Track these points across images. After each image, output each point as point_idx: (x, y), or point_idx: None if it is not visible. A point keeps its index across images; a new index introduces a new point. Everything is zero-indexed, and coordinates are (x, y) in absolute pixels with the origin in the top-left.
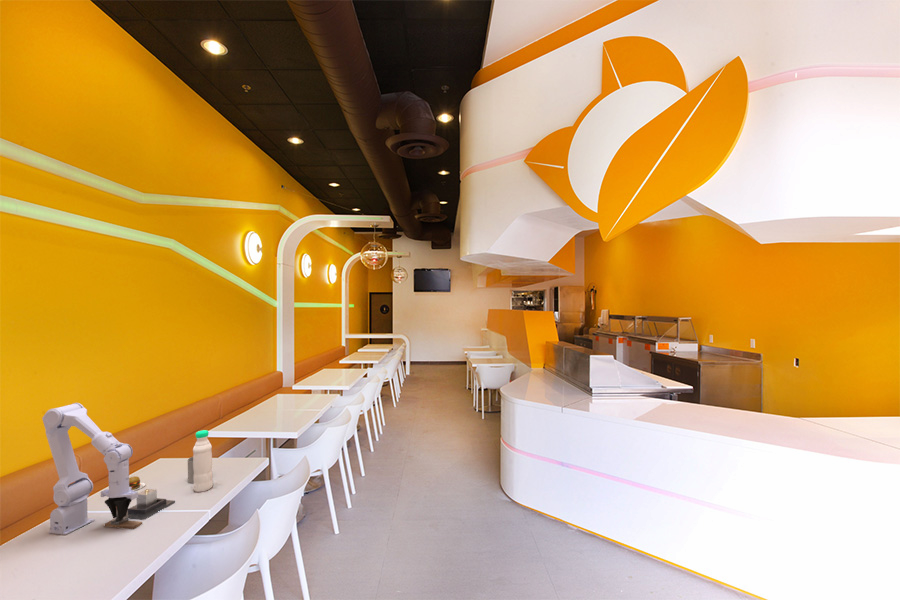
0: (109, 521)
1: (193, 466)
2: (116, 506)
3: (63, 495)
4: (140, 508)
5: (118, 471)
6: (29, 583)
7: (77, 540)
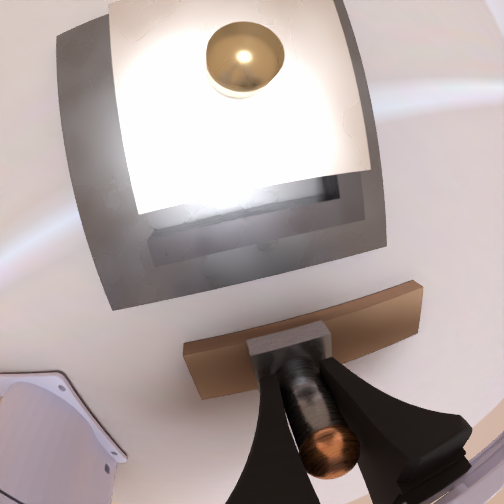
0: (198, 379)
1: None
2: (366, 478)
3: None
4: (282, 210)
5: None
6: (349, 496)
7: (234, 458)
